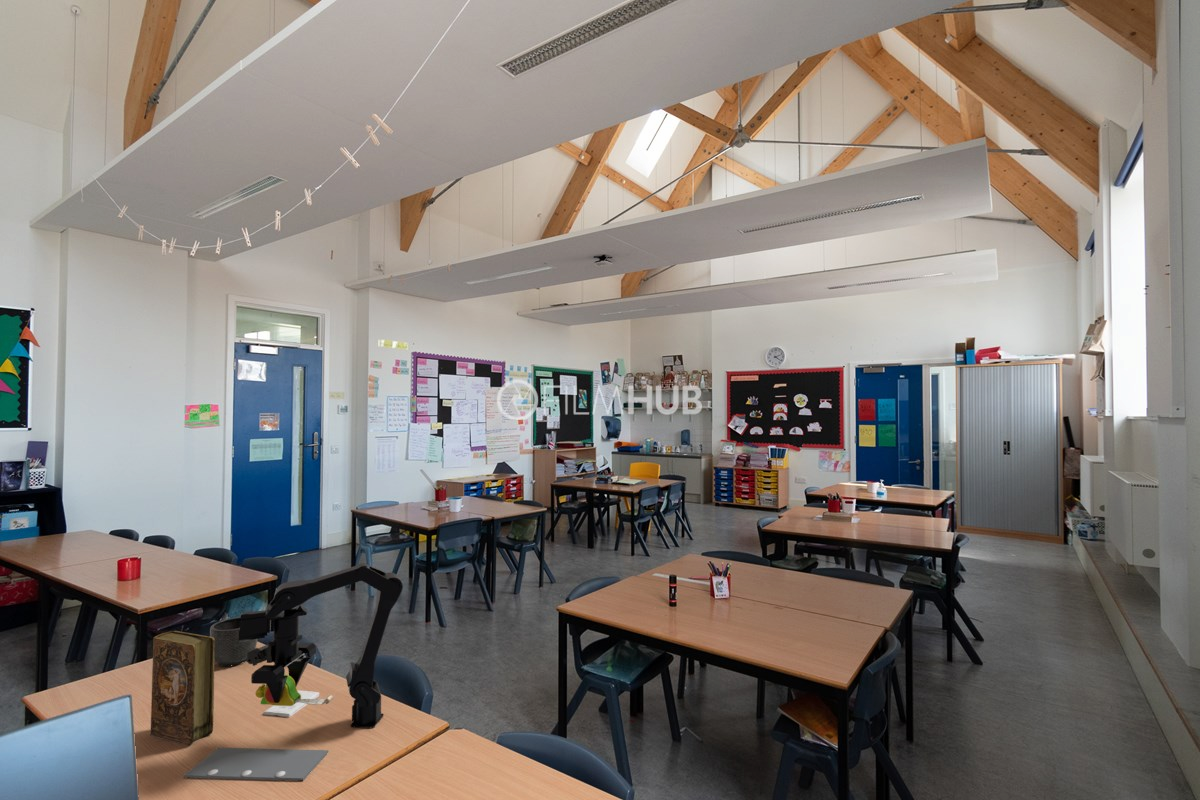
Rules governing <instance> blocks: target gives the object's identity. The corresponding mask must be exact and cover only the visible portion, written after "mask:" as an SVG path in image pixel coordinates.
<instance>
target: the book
mask: <svg viewBox="0 0 1200 800" xmlns="http://www.w3.org/2000/svg"><path fill="white" fill-rule="evenodd" d="M152 641H153V642H152V673H151V674H152V675H151V701H150V702H151V703H150V704H151V707H150V708H151V711H150V737H153V738H158V739H162V740H166V741H170V742H173V743H178V744H181V745H186V746H192V745H193V743H194V742H195V741H197V740H199V739H200V738H201V739H202V738H203V737H207V736H209V735H211V734H213V731H214V710H215V709H214V707H215V706H214V705H215V703H214V699H215V694H214V693H215V639H214V638H213V637H210V636H208V635H203V634H196V633H190V632H184V631H178V630H171V631H165V632H162V633H160V634H157V635H155V636H153V639H152Z"/></svg>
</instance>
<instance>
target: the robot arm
mask: <svg viewBox="0 0 1200 800" xmlns="http://www.w3.org/2000/svg"><path fill="white" fill-rule="evenodd" d="M359 582H363V583H364V584H367V585H369V586H370V587H372V588H374V589H375V590H376V599H375V608H374V611H373V614H372V617H371V621H370V624H369V627H368V631H367V634H366V636H365V639H364V644H363V645H362V646H363V647H362V648H361V649H362V650H361V653H360V655H359V657H358V659H357V661H356V662H350V663H349V671H348V673H347V674H346V676H345V678H346V679H345V680H346V683H347V688H348V691H349V696H351V698H352V699H354V700H353V705H352V706H351V721H352V723H351V724H350V728H366V729H367V728H369V729H370V728H371V729H372V728H373V729H374V728H375V727H376V725H377V724H379V722H380V721H381V719H383V718H384V713H382V694H381V691H380V690H381V689H380V688H379V684H378V682H377V681H376V680H374V679H375V664H376V660H377V657H378V653H379V651H380V650H379V649H380V646H381V644H382V643H381V642H382V640H383V636H384V635H385V631H386V628H387V624H388V621H389V617H390V614H391V611H392V609H393V608H394V607H395V606H396V605H395V604H396V603H397V602H398V600H399V599H400V596H401V594H402V592H403V587H404V586H403V585H404V584H403V582H402V580H401V579H400V577H399V576H398V575H397V574H396V573H395V572H385V571H383V570H380V569H378V568H376V567H372V566H370V565H369V564H367V563H364V562H362V563H361V562H360V563H359V564H357V565H354V566H351V567H348V568H345V569H341V570H338V571H335V572H332V573H329V574H326V575H323V576H320V577H316V578H313V579H305V580H304V579H302V580H300V579H299V580H298V579H297V580H293V581H286V582H283V583H281V584H280V585H278V586H277V588H276V590H274V591H275V592H274V595H273V599H272V600H271V601H270V603H268V604H267V606H266V608H265V609H263V610H258V611H257V610H256V611H246V612H245V611H244V612H241V613H240V617H241V620H240V628H239V642H242V641H249V640H255V639H257V640H259V639H266V636H267V637H268V634H271V627H272V625H271V624H272V621H273V635H272V638H273V639H272V640H270V641H269V642H268V644H266V645H263V646H261V647H256V648H255V649H254V650H253V649H252V650H250V651H249V652H248V654H247V661H246V662H247V663H248V665H252V667H255V666H257V665H258V664H261V663H263V662H266V664H264V665H262V666H260V667H259V668H258V669H256V670H255V671H253V673H251V674H250V675H251V679H250V680H251V681H250V683H251V684H253V685H254V684H256V685H258V684H261V685H262V684H265V685H266V684H267V686H268V688H269V690H270V692H271V695H272V698H273V700H274V702H275V703H279V702H280V699H281V697H282V693H283V690H284V687H285V683H286V680H287V677H288V675H289V676H291V677H292V678H293V679H294V681H295V684H296V687H297V686H298V685H299V682H300V680H301V678H302V675H304V674H303V673H304V672H305V670H306V668H307V665H308V664H309V662H310V661H311V657H313V656H314V655H315V654H317V645H316V644H315V643H314V642H300V641H301V640H303V634H300V632H299V631H300V628H299V627H300V617H302V616H303V617H304V616H306V615H308V610H307V608H305V607H304V606H303V605H302V604H305V603H306V602H307V601H308V600H310V599H312V598H313V597H316V596H319V595H321V594H325V593H328V592H331V591H335V590H338V589H341V588H343V587H347V586H350V585H353V584H355V583H359ZM305 654H306V655H305ZM271 663H273V665H272V664H271ZM286 668H287V669H288V670H287V671H288V674H285V669H286ZM284 674H285V675H284Z"/></svg>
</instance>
